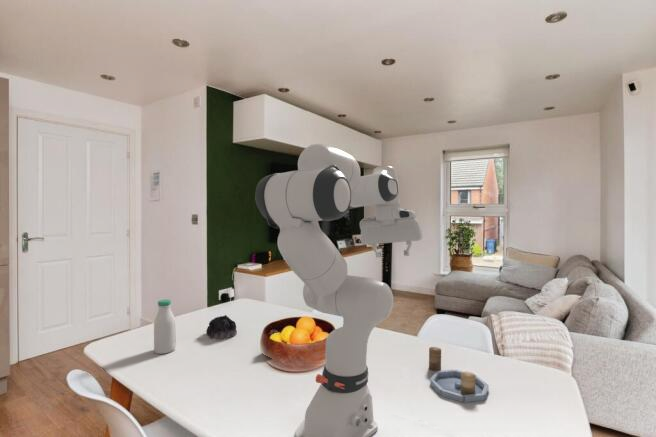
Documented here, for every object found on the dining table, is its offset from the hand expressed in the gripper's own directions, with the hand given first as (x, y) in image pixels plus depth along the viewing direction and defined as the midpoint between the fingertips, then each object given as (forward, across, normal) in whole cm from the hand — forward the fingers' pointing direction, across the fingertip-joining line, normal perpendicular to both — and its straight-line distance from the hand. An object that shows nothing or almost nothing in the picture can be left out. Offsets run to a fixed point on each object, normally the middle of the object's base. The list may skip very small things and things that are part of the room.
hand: (392, 256), depth 114 cm
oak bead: (+42, +19, -1) cm, 47 cm away
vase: (+35, -52, +3) cm, 62 cm away
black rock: (+31, -83, +10) cm, 89 cm away
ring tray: (+43, +16, +3) cm, 46 cm away
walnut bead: (+42, +8, +13) cm, 44 cm away
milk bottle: (+31, -92, -13) cm, 98 cm away
